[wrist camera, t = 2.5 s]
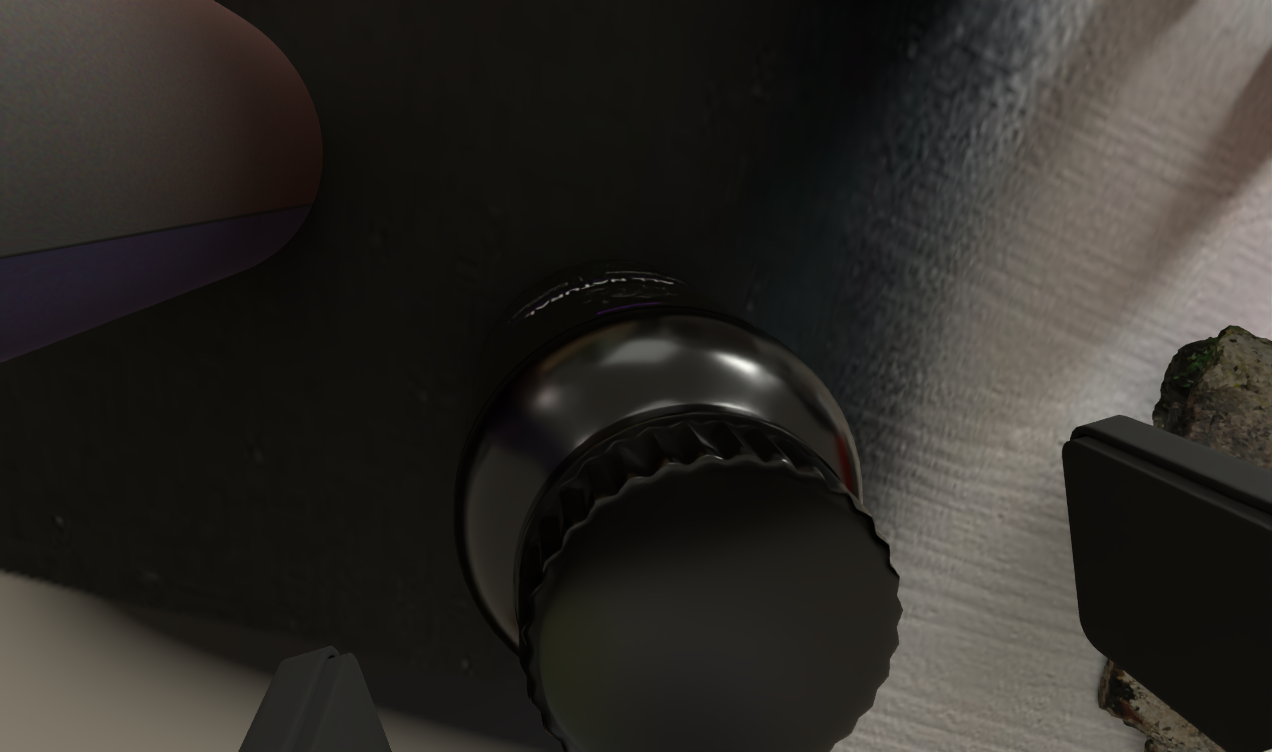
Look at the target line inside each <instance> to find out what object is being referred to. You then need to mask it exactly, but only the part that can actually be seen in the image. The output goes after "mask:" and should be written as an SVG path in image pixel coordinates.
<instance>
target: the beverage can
mask: <svg viewBox="0 0 1272 752" xmlns="http://www.w3.org/2000/svg"><path fill="white" fill-rule="evenodd" d="M322 165H323V145H322V136H321V129H320V124H319V120H318V116H317V113H316V110H315V107H314V104H313V101H312V99H311V97H310V94H309V92H308V90H307V88H306V86H305V84H304V82H303V80H302V79H301V77H300V75H299V74H298V72H297V71H296V69H295V68H294V66H293V65H292V64H291V62H290V61H289V59H288V58H287V57H286V56H285V55H284V54H283V52H282V51H281V50H280V49H279V48H278V47H277V46H276V45H275V44H274V43H273V42H272V41H271V40H270V39H269V38H268V37H267V36H266V35H265V34H263V33H262V32H261V31H260V30H258V29H257V28H256V27H255V26H253V25H252V24H250V23H249V22H247V21H246V20H244V19H243V18H241V17H240V16H238V15H237V14H235V13H233V12H232V11H230V10H228V9H227V8H225V7H223V6H222V5H220V4H219V3H217V2H215V1H214V0H0V363H1V362H4V361H7V360H9V359H12V358H15V357H17V356H20V355H23V354H25V353H28V352H30V351H33V350H36V349H38V348H41V347H44V346H46V345H49V344H52V343H54V342H57V341H59V340H62V339H65V338H67V337H70V336H73V335H75V334H78V333H81V332H83V331H86V330H89V329H91V328H94V327H96V326H99V325H102V324H104V323H107V322H110V321H112V320H115V319H118V318H120V317H123V316H125V315H128V314H131V313H133V312H136V311H139V310H141V309H144V308H147V307H149V306H152V305H154V304H157V303H160V302H162V301H165V300H168V299H170V298H173V297H176V296H178V295H181V294H183V293H186V292H189V291H191V290H194V289H197V288H199V287H202V286H205V285H207V284H210V283H213V282H215V281H218V280H220V279H223V278H226V277H228V276H231V275H234V274H236V273H239V272H242V271H244V270H247V269H249V268H251V267H253V266H255V265H257V264H259V263H261V262H263V261H264V260H266V259H268V258H269V257H270V256H272V255H273V254H275V253H276V252H277V251H278V250H280V249H281V248H282V247H283V246H284V245H285V244H286V243H287V242H288V241H289V240H290V239H291V238H292V237H293V236H294V235H295V233H296V232H297V231H298V230H299V228H300V227H301V225H302V224H303V222H304V221H305V219H306V217H307V216H308V214H309V212H310V210H311V208H312V206H313V203H314V200H315V198H316V195H317V192H318V188H319V184H320V179H321V173H322Z"/></svg>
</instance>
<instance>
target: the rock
mask: <svg viewBox="0 0 1272 752" xmlns="http://www.w3.org/2000/svg"><path fill="white" fill-rule="evenodd" d="M1160 391H1161V398H1160V400H1159V401H1158V403H1157V404H1156V405H1155V408H1154V411H1153V413H1152V419H1153V426H1154V427H1156V428H1159V429H1162V430H1164V431H1167V432H1169V433H1172V434H1175V435H1177V436H1180V437H1183V438H1185V439H1188V440H1191V441H1193V442H1196V443H1199V444H1201V445H1204V446H1207V447H1209V448H1212V449H1215V450H1217V451H1220V452H1223V453H1225V454H1228V455H1230V456H1233V457H1236V458H1238V459H1241V460H1244V461H1246V462H1249V463H1252V464H1254V465H1257V466H1260V467H1262V468H1265V469H1268V470H1270V471H1272V341H1270V340H1268V339H1266V338H1259V337H1256V336H1254V335H1253V334H1251V333H1250V332H1248V331H1247V330H1245V329H1243V328H1241V327H1239V326H1232V325H1229V326H1228V327H1227V328H1225V329H1223V330H1221V331H1220V333H1219V335H1218V337H1216V338H1212V337H1209V338H1208V339H1206V340H1200V341H1196V342H1192V343H1190V344H1187V345H1185V346H1183V347H1182V348H1180V349H1179V350H1178V353H1177V354H1176V355H1174V356H1173V358H1172V361H1171V363H1170V364H1169V366H1168V368H1167V370H1166V373H1165V376H1164V381H1163V382H1162V385H1161V390H1160ZM1098 702H1099V708H1101V709H1104V710H1107V711H1108V712H1109V714H1110V715H1111V716H1114V717H1117V718H1120V719H1122V720H1123V722H1124V724H1125V725H1127V726H1130V727H1133V728H1136V729H1137V730H1139V731H1140V732H1142V733H1144V734H1147V741H1146V743H1145V750H1144V752H1226V751H1225V750H1223V749H1222V748H1221V747H1220V746H1218V745H1217V744H1216V743H1214V742H1213V741H1212V740H1211V739H1209V738H1208V737H1207V736H1206V735H1204V734H1203V733H1202V732H1201V731H1199V730H1198V729H1197V728H1195V727H1194V726H1193V725H1192V724H1190V723H1189V722H1188V721H1187V720H1185V719H1184V718H1183V717H1182V716H1180V715H1179V714H1178V713H1177V712H1175V711H1174V710H1173V709H1171V708H1170V707H1169V706H1168V705H1166V704H1165V703H1164V702H1163V701H1161V700H1160V699H1159V698H1158V697H1156V696H1155V695H1154V694H1153V693H1151V692H1150V691H1149V690H1147V689H1146V688H1145V687H1144V686H1142V685H1141V684H1140V683H1139V682H1137V681H1136V680H1135V679H1134V678H1132V677H1131V676H1130V675H1128V674H1127V673H1126V672H1125V671H1123V670H1122V669H1121V668H1120V667H1118V666H1117V665H1116V664H1115V663H1113V662H1112V661H1111V660H1110V659H1108V660H1107V663H1106V665H1105V667H1104V672H1103V676H1102V678H1101V680H1100V687H1099V691H1098Z"/></svg>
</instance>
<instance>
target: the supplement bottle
mask: <svg viewBox="0 0 1272 752" xmlns="http://www.w3.org/2000/svg"><path fill="white" fill-rule="evenodd" d="M862 497H863V495H862V478H861V470H860V464H859V458H858V454H857V450H856V446H855V443H854V439H853V436H852V434H851V431H850V429H849V426H848V424H847V421H846V419H845V417H844V415H843V413H842V411H841V409H840V407H839V405H838V403H837V402H836V400H835V399H834V397H833V396H832V394H831V393H830V391H829V390H828V388H827V387H826V385H825V384H824V383H823V382H822V381H821V379H820V378H819V377H818V376H817V375H816V373H815V372H814V371H813V370H812V369H811V368H810V367H809V366H808V365H807V364H806V363H805V362H803V361H802V360H801V359H800V358H799V357H798V356H797V355H796V354H795V353H794V352H792V351H791V350H790V349H789V348H787V347H786V346H785V345H784V344H782V343H781V342H780V341H778V340H777V339H776V338H774V337H772V336H771V335H769V334H768V333H766V332H765V331H763V330H762V329H760V328H758V327H757V326H755V325H754V324H752V323H750V322H749V321H747V320H746V319H744V318H743V317H741V316H739V315H738V314H736V313H735V312H733V311H732V310H730V309H728V308H727V307H725V306H724V305H722V304H721V303H719V302H717V301H716V300H714V299H713V298H711V297H710V296H708V295H706V294H705V293H703V292H702V291H700V290H699V289H697V288H695V287H694V286H692V285H691V284H689V283H687V282H686V281H684V280H682V279H680V278H678V277H676V276H674V275H672V274H670V273H668V272H666V271H664V270H661V269H658V268H656V267H653V266H649V265H645V264H642V263H636V262H630V261H620V260H601V261H592V262H585V263H581V264H577V265H573V266H570V267H567V268H564V269H561V270H559V271H556V272H554V273H552V274H550V275H548V276H546V277H544V278H543V279H541V280H539V281H538V282H536V283H534V284H533V285H532V286H530V287H529V288H528V289H526V290H525V291H524V292H523V293H521V294H520V295H519V296H518V297H517V298H516V299H515V300H514V301H513V302H512V303H511V304H510V305H509V306H508V307H507V308H506V310H505V311H504V312H503V314H502V315H501V316H500V318H499V319H498V320H497V322H496V323H495V325H494V327H493V328H492V330H491V332H490V333H489V335H488V337H487V340H486V342H485V344H484V346H483V349H482V352H481V355H480V358H479V361H478V365H477V369H476V373H475V377H474V382H473V387H472V392H471V398H470V403H469V409H468V414H467V420H466V425H465V431H464V436H463V442H462V447H461V452H460V458H459V464H458V469H457V476H456V484H455V491H454V535H455V545H456V550H457V555H458V560H459V564H460V567H461V570H462V574H463V577H464V580H465V582H466V585H467V587H468V589H469V592H470V594H471V596H472V598H473V601H474V602H475V604H476V606H477V608H478V609H479V611H480V613H481V615H482V616H483V618H484V619H485V621H486V622H487V623H488V625H489V626H490V627H491V629H492V630H493V632H494V633H495V634H496V635H497V636H498V637H499V638H500V639H501V640H502V642H503V643H504V644H505V645H506V646H507V647H508V648H509V649H510V650H511V651H512V652H513V653H515V654H516V655H517V656H518V657H519V659H520V663H521V666H522V668H523V670H524V672H525V674H526V676H527V692H528V696H529V699H530V701H531V702H532V704H533V705H534V706H535V707H536V708H537V709H538V710H540V712H541V716H542V722H543V726H544V729H545V731H546V732H547V733H549V734H550V735H551V736H553V737H555V738H556V739H558V740H559V741H560V742H561V744H562V747H563V750H564V752H830V751H831V749H832V748H833V746H834V745H835V743H837V742H838V741H840V740H842V739H844V738H846V737H847V736H849V735H850V734H851V733H852V731H853V729H854V727H855V725H856V723H857V720H858V718H859V717H861V716H862V715H863V714H864V713H866V712H867V711H868V710H869V709H870V708H871V707H872V706H873V703H874V700H875V696H876V692H877V689H878V688H879V687H880V685H881V684H882V683H884V681H885V680H886V679H887V678H888V676H889V670H890V658H891V656H892V654H893V653H894V652H895V650H896V648H897V647H898V645H899V637H898V632H897V625H898V622H899V620H900V618H901V615H902V612H903V609H902V606H901V603H900V601H899V599H898V597H897V592H898V587H899V580H900V576H899V574H898V573H897V571H896V569H895V568H894V567H893V565H892V564H891V562H890V547H889V544H888V542H887V540H886V539H885V537H884V536H883V535H882V534H881V533H880V532H879V531H878V530H877V529H876V528H875V524H874V521H873V518H872V515H871V513H870V512H869V510H868V509H867V508H866V507H865V506H864V505H863V504H862Z"/></svg>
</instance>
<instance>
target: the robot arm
mask: <svg viewBox="0 0 1272 752" xmlns="http://www.w3.org/2000/svg"><path fill="white" fill-rule="evenodd" d="M1062 460H1063V469H1064V479H1065V488H1066V497H1067V507H1068V516H1069V525H1070V535H1071V544H1072V553H1073V563H1074V572H1075V582H1076V591H1077V600H1078V610H1079V618H1080V623H1081V626H1082V629H1083V632H1084V633H1085V635H1086V637H1087V639H1088V640H1089V641H1090V643H1091V644H1092V645H1093V646H1094V647H1095V648H1096V649H1097V650H1098V651H1099V652H1101V653H1102V654H1103V655H1104V656H1106V657H1107V658H1108V659H1110V660H1111V661H1112V662H1113V663H1115V664H1116V665H1117V666H1118V667H1120V668H1121V669H1122V670H1123V671H1125V672H1126V673H1127V674H1128V675H1130V676H1131V677H1132V678H1134V679H1135V680H1136V681H1137V682H1139V683H1140V684H1141V685H1142V686H1144V687H1145V688H1146V689H1147V690H1149V691H1150V692H1151V693H1153V694H1154V695H1155V696H1156V697H1158V698H1159V699H1160V700H1161V701H1163V702H1164V703H1165V704H1166V705H1168V706H1169V707H1170V708H1171V709H1173V710H1174V711H1175V712H1177V713H1178V714H1179V715H1180V716H1182V717H1183V718H1184V719H1185V720H1187V721H1188V722H1189V723H1190V724H1192V725H1193V726H1194V727H1195V728H1197V729H1198V730H1199V731H1201V732H1202V733H1203V734H1204V735H1206V736H1207V737H1208V738H1209V739H1211V740H1212V741H1213V742H1214V743H1216V744H1217V745H1218V746H1220V747H1221V748H1222V749H1223V750H1225V751H1226V752H1272V471H1270V470H1268V469H1265V468H1262V467H1260V466H1257V465H1254V464H1252V463H1249V462H1246V461H1244V460H1241V459H1238V458H1236V457H1233V456H1230V455H1228V454H1225V453H1223V452H1220V451H1217V450H1215V449H1212V448H1209V447H1207V446H1204V445H1201V444H1199V443H1196V442H1193V441H1191V440H1188V439H1185V438H1183V437H1180V436H1177V435H1175V434H1172V433H1169V432H1167V431H1164V430H1162V429H1159V428H1156V427H1154V426H1151V425H1148V424H1146V423H1143V422H1140V421H1138V420H1135V419H1132V418H1130V417H1127V416H1123V415H1117V416H1113V417H1110V418H1106V419H1103V420H1100V421H1096V422H1093V423H1089V424H1086V425H1083V426H1079V427H1076V428H1075V429H1074V430H1073V431H1072V434H1071V437H1070V441H1067V442H1066V443H1065V444H1064V446H1063V449H1062ZM239 752H392V751H391V749H390V746H389V743H388V741H387V738H386V736H385V733H384V730H383V728H382V725H381V722H380V719H379V717H378V714H377V711H376V709H375V706H374V704H373V701H372V698H371V695H370V693H369V690H368V687H367V685H366V682H365V680H364V677H363V674H362V672H361V669H360V666H359V664H358V661H357V659H356V658H355V656H354V655H353V654H352V653H347V654H344V655H340V654H339V653H338V651H337V650H336V649H335V648H334V647H332V646H329V647H325V648H322V649H318V650H315V651H312V652H308V653H305V654H301V655H298V656H295V657H291V658H288V659H284V660H283V661H282V662H281V663H280V665H279V667H278V669H277V671H276V673H275V675H274V677H273V679H272V681H271V684H270V686H269V688H268V690H267V692H266V694H265V696H264V699H263V701H262V703H261V705H260V707H259V709H258V711H257V713H256V715H255V718H254V720H253V722H252V724H251V726H250V729H249V730H248V732H247V735H246V737H245V739H244V741H243V743H242V745H241V747H240V750H239Z"/></svg>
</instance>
